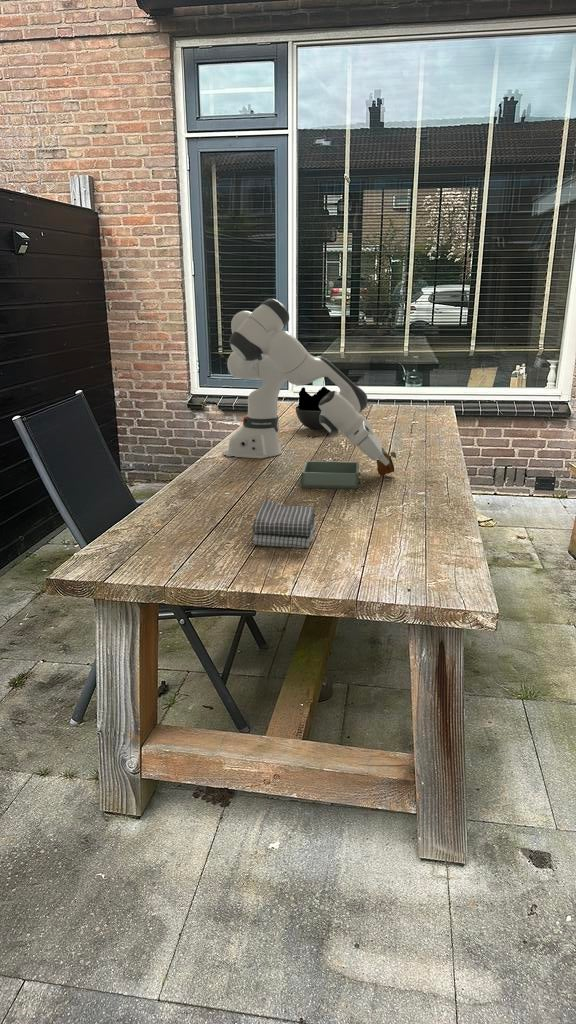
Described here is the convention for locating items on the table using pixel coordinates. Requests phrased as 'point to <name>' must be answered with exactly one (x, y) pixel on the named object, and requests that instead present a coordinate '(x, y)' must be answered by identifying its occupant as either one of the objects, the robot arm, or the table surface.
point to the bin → (330, 475)
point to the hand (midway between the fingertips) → (387, 460)
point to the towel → (283, 525)
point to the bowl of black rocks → (310, 408)
